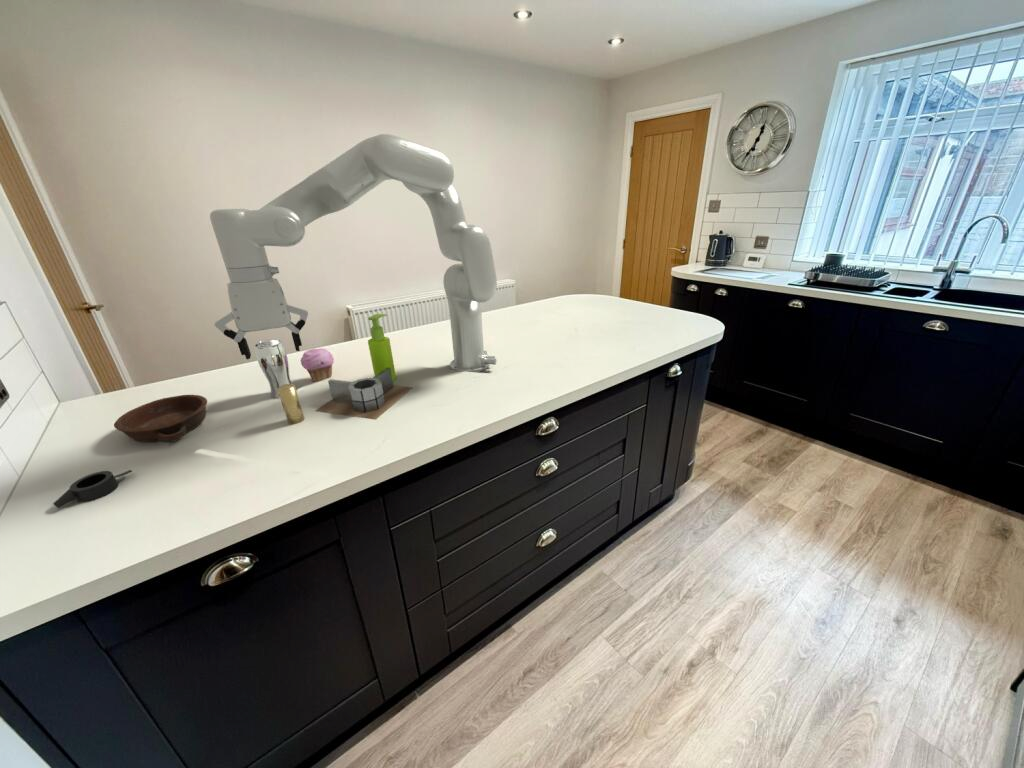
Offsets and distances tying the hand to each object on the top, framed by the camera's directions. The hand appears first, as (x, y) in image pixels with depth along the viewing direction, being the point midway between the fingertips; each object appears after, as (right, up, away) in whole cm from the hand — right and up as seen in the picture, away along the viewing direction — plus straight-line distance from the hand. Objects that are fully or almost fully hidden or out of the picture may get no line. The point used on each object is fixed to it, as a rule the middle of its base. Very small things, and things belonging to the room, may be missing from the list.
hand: (273, 353), depth 87 cm
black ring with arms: (-26, -28, -12) cm, 40 cm away
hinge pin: (+1, -17, +8) cm, 19 cm away
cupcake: (-4, -6, +31) cm, 32 cm away
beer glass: (-12, -10, +24) cm, 28 cm away
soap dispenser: (+16, -6, +29) cm, 34 cm away
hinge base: (+14, -12, +18) cm, 25 cm away
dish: (-31, -18, +9) cm, 36 cm away
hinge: (+14, -11, +18) cm, 25 cm away
